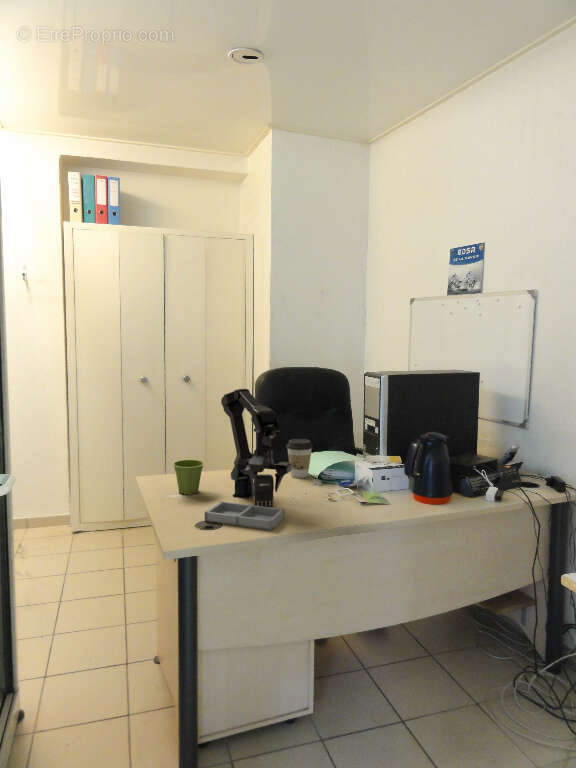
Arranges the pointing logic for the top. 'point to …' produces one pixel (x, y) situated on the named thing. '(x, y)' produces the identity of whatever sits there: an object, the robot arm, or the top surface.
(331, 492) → the top surface
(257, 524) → the divided tray
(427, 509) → the top surface
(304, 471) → the coffee cup
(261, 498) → the battery charger
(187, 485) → the plant pot
